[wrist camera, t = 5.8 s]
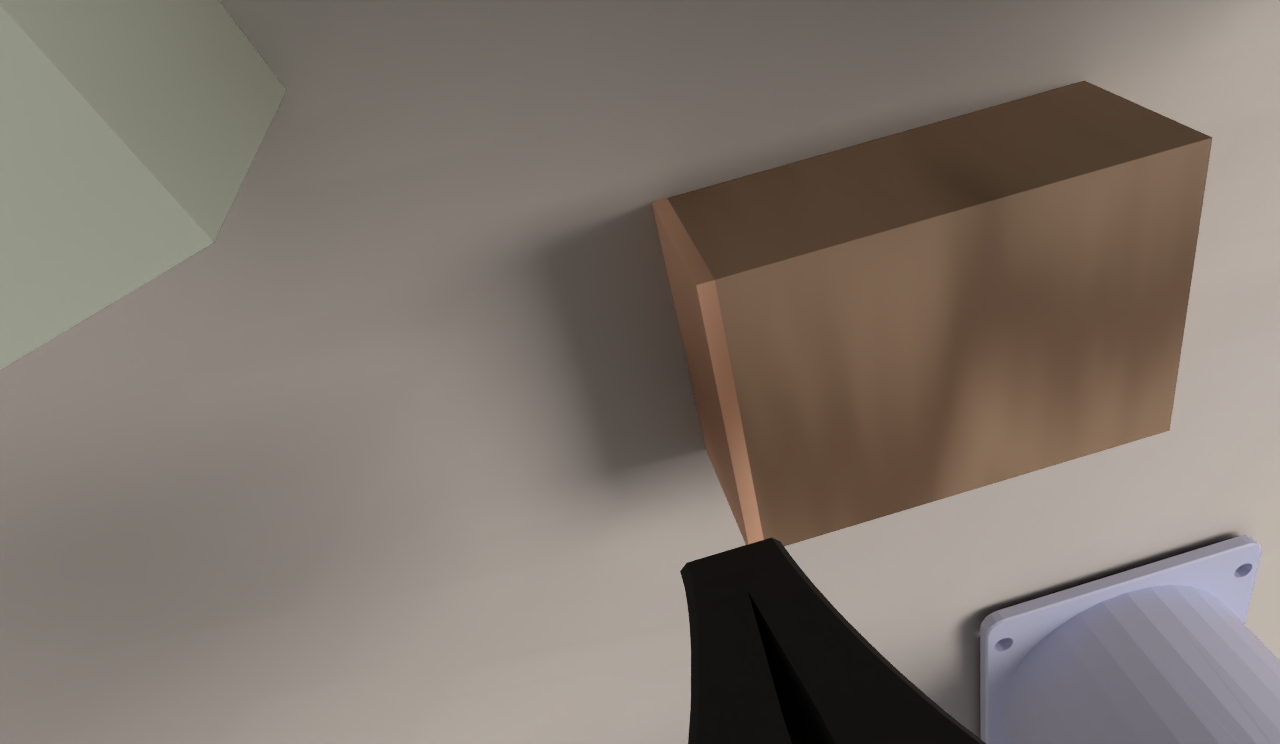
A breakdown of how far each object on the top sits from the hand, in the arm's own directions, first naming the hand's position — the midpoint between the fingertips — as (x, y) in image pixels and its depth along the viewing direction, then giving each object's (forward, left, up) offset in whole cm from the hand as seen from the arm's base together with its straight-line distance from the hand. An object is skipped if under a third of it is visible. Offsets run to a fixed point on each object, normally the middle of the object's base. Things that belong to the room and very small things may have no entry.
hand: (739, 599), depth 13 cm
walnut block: (0, -1, -5) cm, 5 cm away
